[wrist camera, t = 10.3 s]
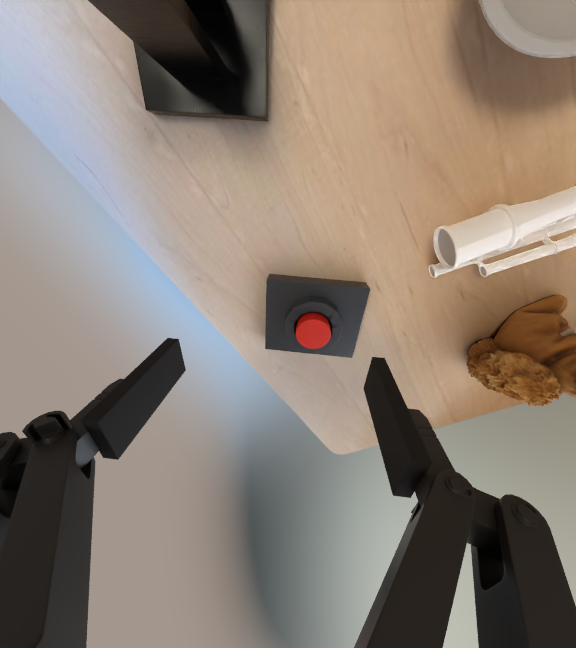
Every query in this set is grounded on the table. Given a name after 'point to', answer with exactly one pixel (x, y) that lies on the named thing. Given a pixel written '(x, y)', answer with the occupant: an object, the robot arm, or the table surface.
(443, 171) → the table surface
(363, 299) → the button box
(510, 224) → the white telescope
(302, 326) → the button
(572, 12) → the dish
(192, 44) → the bracket
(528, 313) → the stuffed squirrel
